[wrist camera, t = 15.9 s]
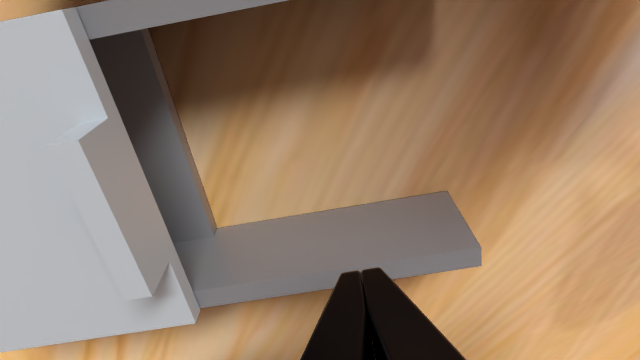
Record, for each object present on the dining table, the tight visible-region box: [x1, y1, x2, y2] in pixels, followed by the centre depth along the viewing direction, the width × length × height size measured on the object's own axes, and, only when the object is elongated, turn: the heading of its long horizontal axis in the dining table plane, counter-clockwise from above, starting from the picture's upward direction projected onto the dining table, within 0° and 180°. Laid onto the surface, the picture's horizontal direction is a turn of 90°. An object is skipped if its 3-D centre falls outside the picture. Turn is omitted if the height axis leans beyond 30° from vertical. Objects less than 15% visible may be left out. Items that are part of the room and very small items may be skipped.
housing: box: [75, 0, 481, 308], centre depth 18 cm, size 13×24×5 cm, turn 100°
